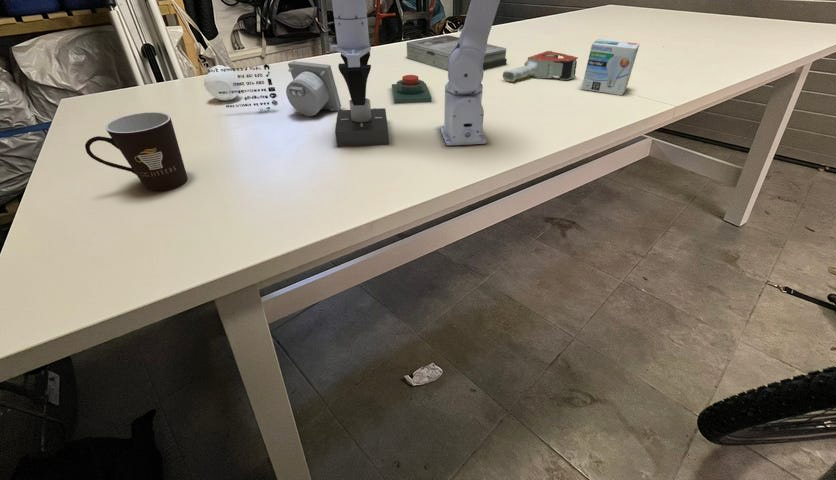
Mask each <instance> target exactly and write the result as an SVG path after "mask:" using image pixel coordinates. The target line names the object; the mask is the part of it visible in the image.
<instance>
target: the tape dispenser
mask: <svg viewBox="0 0 836 480" xmlns="http://www.w3.org/2000/svg"><path fill="white" fill-rule="evenodd" d="M577 59H579V57H577V56H574V55H569V54H565V53H560V52H556V51H553V50H545V51H543V52H541V53H537V54H534V55H531V56H528V57H527V60H525V62H524V65H523V66H520V67H516V68H513V69H509V70H508V69H506V70H504V71H503V72H502V79H503V80H504V81H507V82H511V83H513V82H515V81H516V80H518V79H522V78H524V77H526V76H529V77H533V78H535V79H536V78H538V79H553V78H554V77H559V78H558V79H559V81H568V80H571V79H575V78H576V77H577V76H576V69H577V66H578V65H577V63H578V61H577Z"/></svg>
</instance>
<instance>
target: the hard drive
mask: <svg viewBox="0 0 836 480" xmlns="http://www.w3.org/2000/svg"><path fill="white" fill-rule="evenodd" d="M459 37H460V36H454V35H449V34H447V35H440V36H435V37H428V38H422V39H416V40H412V41H407V42H406V58H407V59H409V60H412V61H416V62H419V63H422V64H426V65H429V66H432V67H436V68H439V69H443V70H445V71H448V70H449V69H448V57H449V55H450V53H451V51H452V50H453V49H454V48H455V47H456V45H457V43H458V40H459ZM506 56H507V48H506V47H502V46H498V45H494V44H489V43H487V47H486V53H485V56H484V60H483V71H486V70H490V69H495V68H499V67H503V66H506V65H507V61H508V59H507V58H506Z"/></svg>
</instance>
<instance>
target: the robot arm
mask: <svg viewBox="0 0 836 480" xmlns="http://www.w3.org/2000/svg"><path fill="white" fill-rule="evenodd" d="M500 2H501V0H470V3H469V6H468V10H467V13H466V17H465V20H464V24H463V26H462V29H461V32H460V34H459V36H458V37H459V40H458V43H457V45H456V47H455V48H454V49H453V50H452V51H451V53H450V55H449V57H448V69H449V70H447V79H448V82H447V83H446V84H445V85H444V113H443V114H444V115H443V117H444V118H443V125H440V126H439V130H440V132H441V136H442V138H443V140H444V143H445V145H446V146H465V145H484V144H487V139H486V138H485V136H484V134H483V128H484V117H485V111H484V110H485V109H484V106H483V105H482V103H483V90H484V86H483V83H482V82H483V80H484V70H483V60H484V56H485V53H486V47H487V44H488V40H489V36H490V34H491V30H492V27H493V23H494V20H495V17H496V14H497V11H498V9H499V5H500ZM331 6H332V14H333V19H334V20H333V22H334V29H335V36H336V37H335V38H336V43H337V44H331V45H330V50H331V51H332V52H338V53H339V54H340V58H341V59H342V61H343V62H342V63H338V64H337V65H338V70H339V73H340V75H341V76H342V77H343V79H344V81H345V83H346V86H347V90H348V93H349V96H350V100H352V103H353V105H354V106H359V105H365V99H366V98H367V82H368V78H369V76H370V73H371V69H372V65H371V64H369V59H370V57H371V51H372V45H371V44H370V35H369V23H368V22H369V21H368V11H367V0H331Z"/></svg>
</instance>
